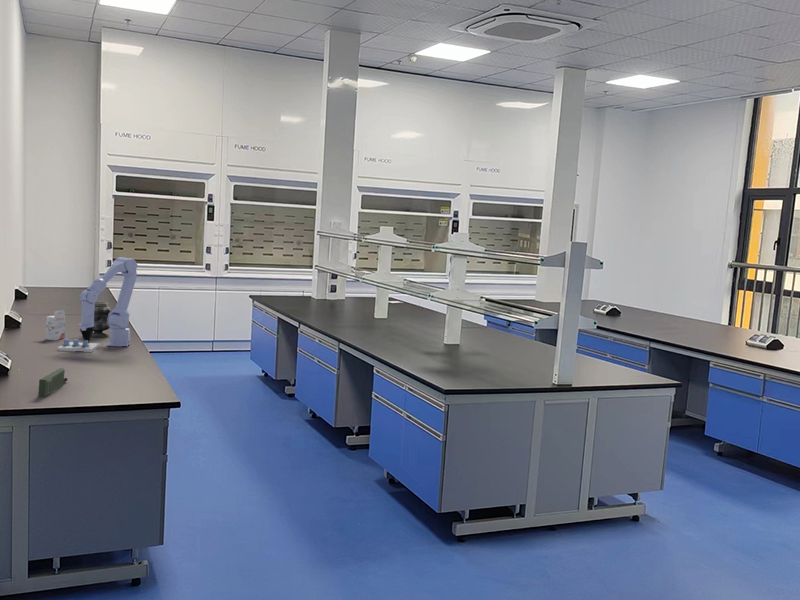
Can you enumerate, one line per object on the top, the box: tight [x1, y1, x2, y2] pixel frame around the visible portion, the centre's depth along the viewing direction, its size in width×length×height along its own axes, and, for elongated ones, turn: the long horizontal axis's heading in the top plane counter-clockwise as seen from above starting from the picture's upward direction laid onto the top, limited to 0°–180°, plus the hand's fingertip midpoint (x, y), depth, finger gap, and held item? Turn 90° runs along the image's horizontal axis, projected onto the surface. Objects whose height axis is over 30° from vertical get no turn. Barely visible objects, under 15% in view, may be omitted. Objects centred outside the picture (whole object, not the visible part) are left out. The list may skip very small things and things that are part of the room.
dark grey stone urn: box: [91, 301, 112, 338], centre depth 385 cm, size 12×12×18 cm
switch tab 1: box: [61, 338, 71, 346], centre depth 345 cm, size 3×3×3 cm
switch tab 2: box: [72, 338, 80, 346], centre depth 346 cm, size 3×3×3 cm
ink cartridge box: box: [45, 309, 66, 341], centre depth 367 cm, size 9×5×15 cm, turn 168°
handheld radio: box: [37, 367, 68, 398], centre depth 266 cm, size 7×3×25 cm
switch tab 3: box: [81, 339, 90, 347], centre depth 346 cm, size 3×3×3 cm
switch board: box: [57, 341, 101, 353], centre depth 347 cm, size 15×16×2 cm
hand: (86, 343), depth 349 cm, fingers closed
